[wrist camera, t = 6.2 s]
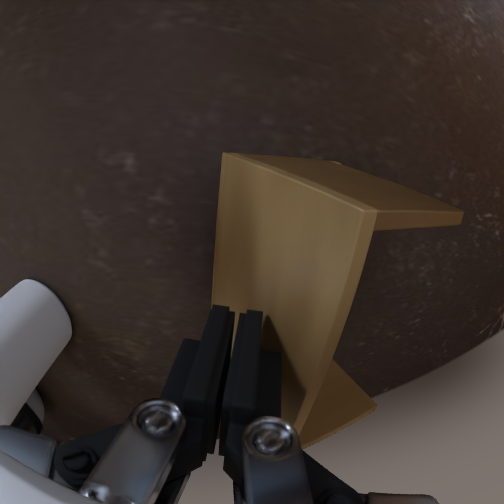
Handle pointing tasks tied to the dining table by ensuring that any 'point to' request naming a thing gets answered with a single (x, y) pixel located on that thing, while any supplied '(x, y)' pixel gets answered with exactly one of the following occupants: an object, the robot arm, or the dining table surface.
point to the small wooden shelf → (306, 268)
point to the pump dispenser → (30, 414)
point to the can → (28, 342)
